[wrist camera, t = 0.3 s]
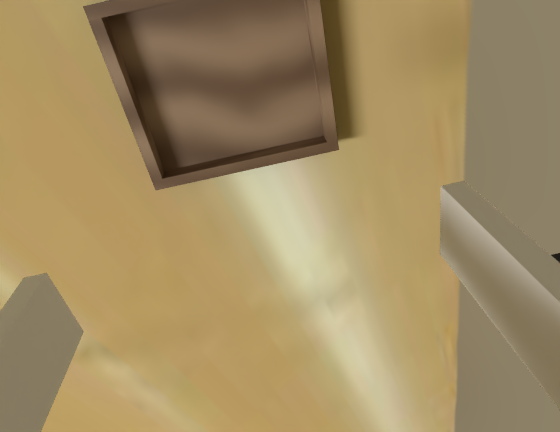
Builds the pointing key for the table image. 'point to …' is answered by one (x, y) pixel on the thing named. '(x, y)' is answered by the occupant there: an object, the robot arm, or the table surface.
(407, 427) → the table surface
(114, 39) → the walnut tray
